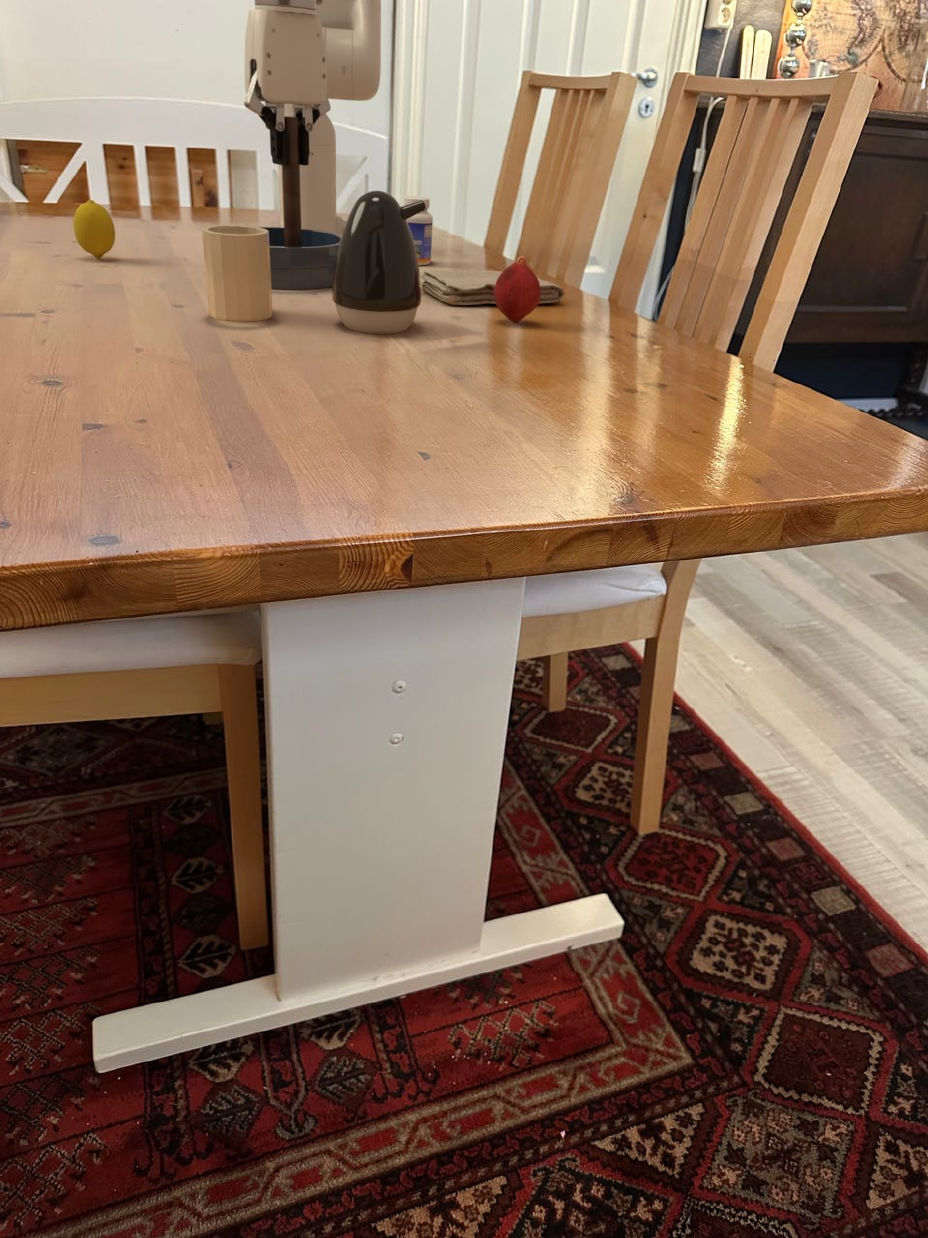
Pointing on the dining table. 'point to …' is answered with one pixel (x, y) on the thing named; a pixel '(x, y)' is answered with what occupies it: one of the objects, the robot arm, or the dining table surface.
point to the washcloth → (476, 287)
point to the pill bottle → (421, 230)
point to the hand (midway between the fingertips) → (290, 162)
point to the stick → (292, 187)
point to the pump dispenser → (377, 266)
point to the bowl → (302, 259)
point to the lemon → (94, 229)
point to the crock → (238, 272)
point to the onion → (517, 291)
